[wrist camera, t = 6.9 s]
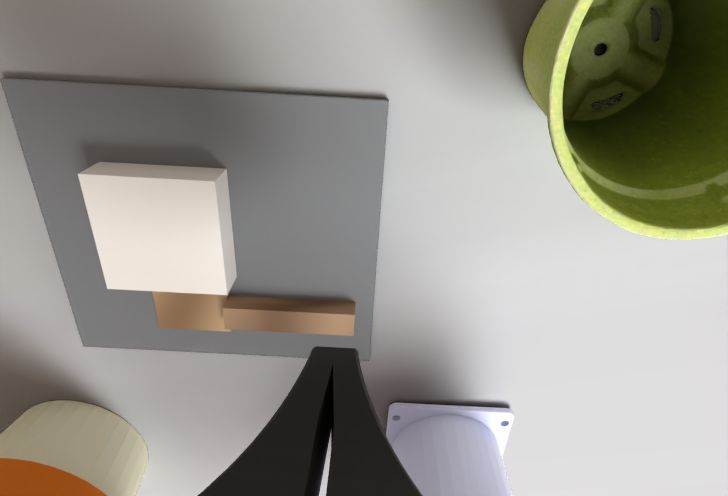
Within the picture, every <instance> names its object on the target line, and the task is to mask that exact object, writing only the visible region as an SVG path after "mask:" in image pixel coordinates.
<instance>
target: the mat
mask: <svg viewBox="0 0 728 496" xmlns="http://www.w3.org/2000/svg"><path fill="white" fill-rule="evenodd" d="M0 80H1V83H2V86H3V89H4V92H5V96H6V99H7V102H8V105H9V109H10V112H11V115H12V118H13V121H14V125H15V128H16V131H17V134H18V138H19V141H20V144H21V147H22V150H23V154H24V157H25V160H26V163H27V166H28V170H29V173H30V176H31V179H32V183H33V186H34V189H35V192H36V195H37V199H38V202H39V205H40V208H41V212H42V215H43V218H44V221H45V224H46V228H47V231H48V234H49V237H50V241H51V244H52V247H53V250H54V253H55V257H56V260H57V263H58V266H59V270H60V273H61V276H62V279H63V282H64V286H65V289H66V292H67V295H68V299H69V302H70V305H71V308H72V311H73V315H74V318H75V321H76V324H77V327H78V331H79V334H80V337H81V340H82V344H83V346H86V347H106V348H125V349H145V350H165V351H184V352H204V353H224V354H243V355H263V356H283V357H303V358H309V356H310V353H311V351H312V349H313V348H314V347H316V346H320V347H339V348H355V349H356V350H357V351H358V353H359V360H362V361H369V356H370V342H371V329H372V316H373V302H374V289H375V276H376V262H377V249H378V236H379V222H380V209H381V196H382V183H383V169H384V156H385V143H386V129H387V116H388V103H389V100H388V99H372V98H355V97H337V96H319V95H302V94H284V93H267V92H249V91H231V90H214V89H196V88H179V87H161V86H143V85H126V84H108V83H91V82H73V81H56V80H38V79H20V78H3V79H0ZM98 162H114V163H133V164H151V165H169V166H187V167H205V168H223V169H227V177H228V188H229V198H230V209H231V219H232V230H233V240H234V251H235V261H236V272H237V277H236V279H235V281H234V283H233V285H232V287H231V289H230V291H229V295H230V296H249V297H268V298H288V299H307V300H326V301H345V302H355V320H354V336H346V335H326V334H307V333H287V332H268V331H248V330H231V331H230V332H227V331H207V330H188V329H168V328H159V323H158V318H157V313H156V308H155V303H154V298H153V293H152V291H138V290H118V289H107V286H106V282H105V278H104V274H103V270H102V266H101V262H100V259H99V255H98V251H97V247H96V243H95V239H94V235H93V231H92V228H91V224H90V220H89V216H88V212H87V208H86V204H85V201H84V197H83V193H82V189H81V185H80V181H79V177H78V173H80V172H82V171H84V170H86V169H87V168H89V167H91V166H93V165H95V164H96V163H98Z"/></svg>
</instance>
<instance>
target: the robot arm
mask: <svg viewBox="0 0 728 496" xmlns="http://www.w3.org/2000/svg"><path fill="white" fill-rule="evenodd" d="M394 415H398V416H394ZM513 419H514V414H513V412H512V410H511V409H508V408H493V407H473V406H453V405H433V404H413V403H393V404H391V405H390V406H389V411H388V420H387V430H386V435H385V433H384V431H383V429H382V426H381V424H380V422H379V420H378V417H377V415H376V413H375V410H374V408H373V405H372V403H371V400H370V397H369V395H368V392H367V389H366V386H365V383H364V379H363V376H362V372H361V367H360V362H359V353H358V351H357V350H356V349H355V348H339V347H320V346H316V347H314V348H313V349H312V351H311V353H310V356H309V358H308V360H307V362H306V364H305V366H304V368H303V370H302V372H301V374H300V376H299V378H298V379H297V381H296V383H295V384H294V386H293V387H292V389H291V391H290V392H289V394H288V396H287V397H286V399H285V400H284V401H283V403H282V404H281V406H280V407H279V409H278V410H277V411H276V413H275V414H274V416H273V417H272V418H271V420H270V421H269V422H268V424H267V425H266V426H265V427H264V429H263V430H262V431H261V432H260V434H259V435H258V436H257V437H256V438H255V440H254V441H253V442H252V443H251V444H250V445H249V446H248V447H247V449H246V450H245V451H244V452H243V453H242V454H241V455H240V456H239V457H238V458H237V459H236V460H235V461H234V462H233V463H232V464H231V465H230V466H229V467H228V468H227V469H226V470H225V471H224V472H223V473H222V474H221V475H220V476H219V477H218V478H217V479H216V480H215V481H213V482H212V483H211V484H210V485H209V486H208V487H207V488H206V489H205V490H204V491H203V492H201V493H200V494H199V495H198V496H319V491H320V486H321V480H322V475H323V470H324V464H325V459H326V454H327V448H328V443H329V438H330V432H331V458H330V467H329V476H328V485H327V493H326V496H513V493H512V489H511V486H510V483H509V479H508V476H507V472H506V469H505V465H504V462H503V459H502V456H503V453H504V450H505V446H506V443H507V440H508V436H509V433H510V429H511V426H512V423H513Z"/></svg>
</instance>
